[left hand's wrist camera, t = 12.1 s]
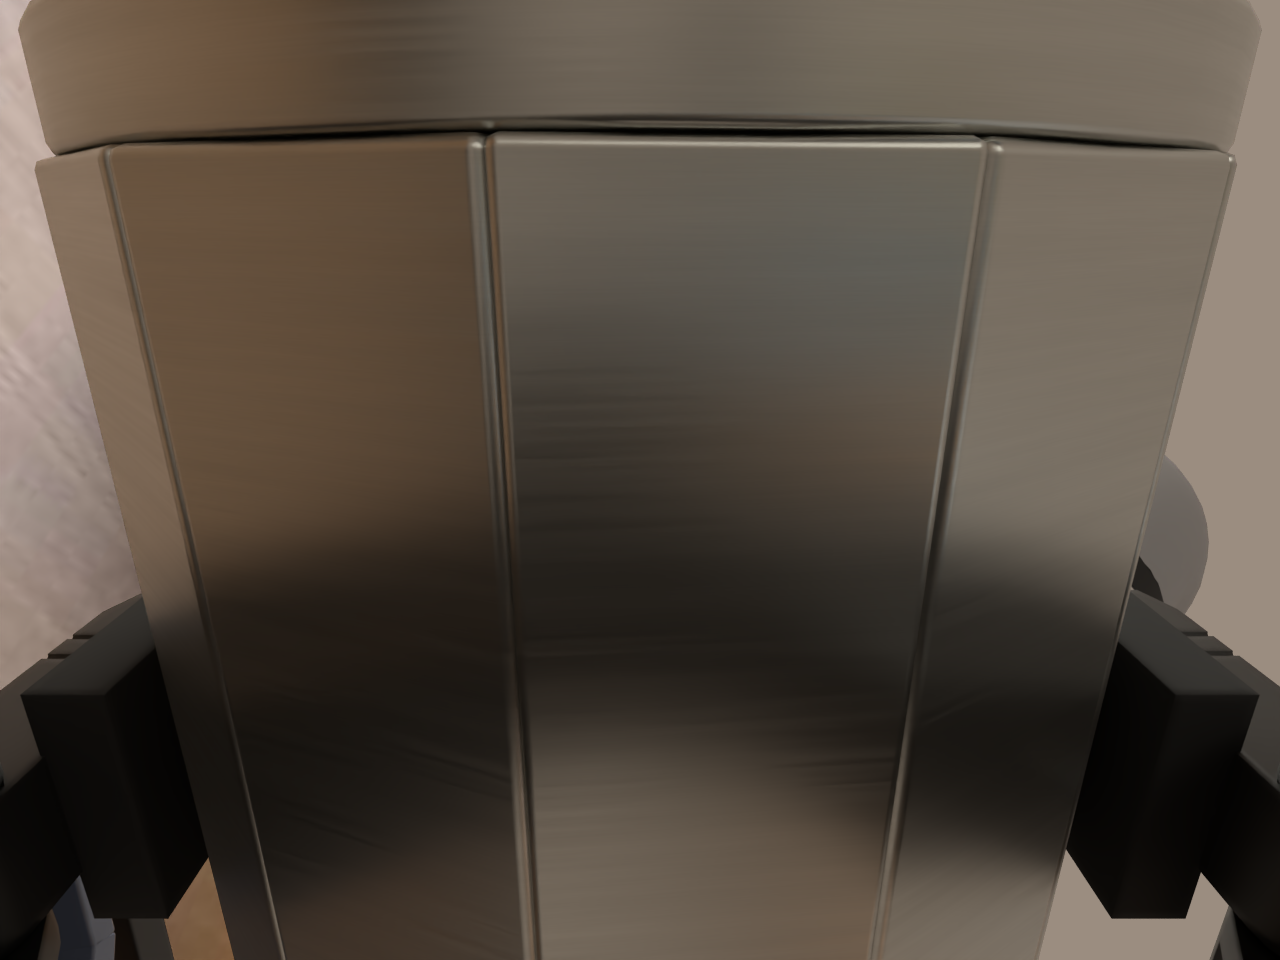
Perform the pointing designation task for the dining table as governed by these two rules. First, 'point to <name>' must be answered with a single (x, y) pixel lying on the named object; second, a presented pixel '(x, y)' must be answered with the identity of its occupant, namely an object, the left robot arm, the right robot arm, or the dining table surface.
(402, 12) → the beaker
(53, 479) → the dining table surface
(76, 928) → the tub
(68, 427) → the dining table surface
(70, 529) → the dining table surface
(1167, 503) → the right robot arm
